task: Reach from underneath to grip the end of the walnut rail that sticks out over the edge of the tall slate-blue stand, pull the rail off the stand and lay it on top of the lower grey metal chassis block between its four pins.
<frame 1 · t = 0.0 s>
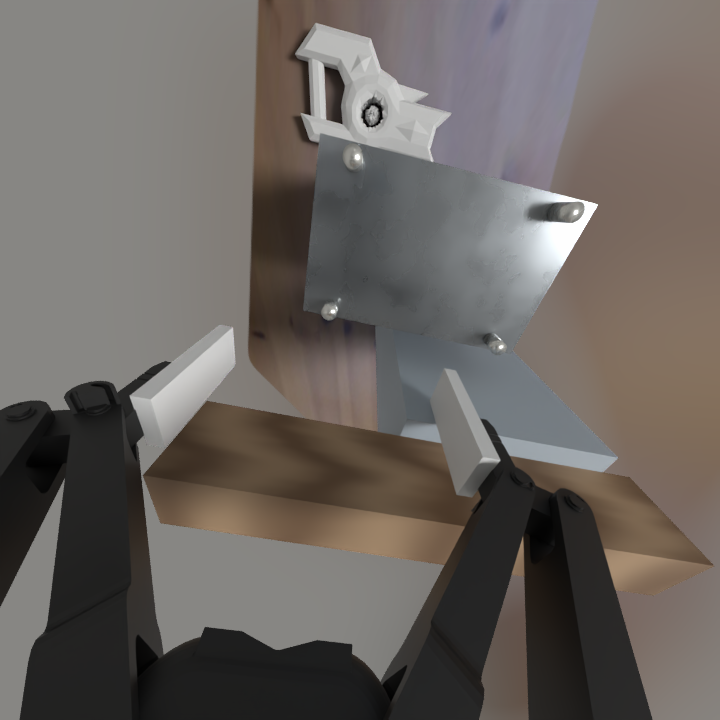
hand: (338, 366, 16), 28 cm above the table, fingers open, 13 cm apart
rail: (420, 461, 17), point 30 cm above the table, touching stand
chassis: (399, 233, 37), on the table
stand: (420, 316, 44), on the table
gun: (371, 112, 31), on the table
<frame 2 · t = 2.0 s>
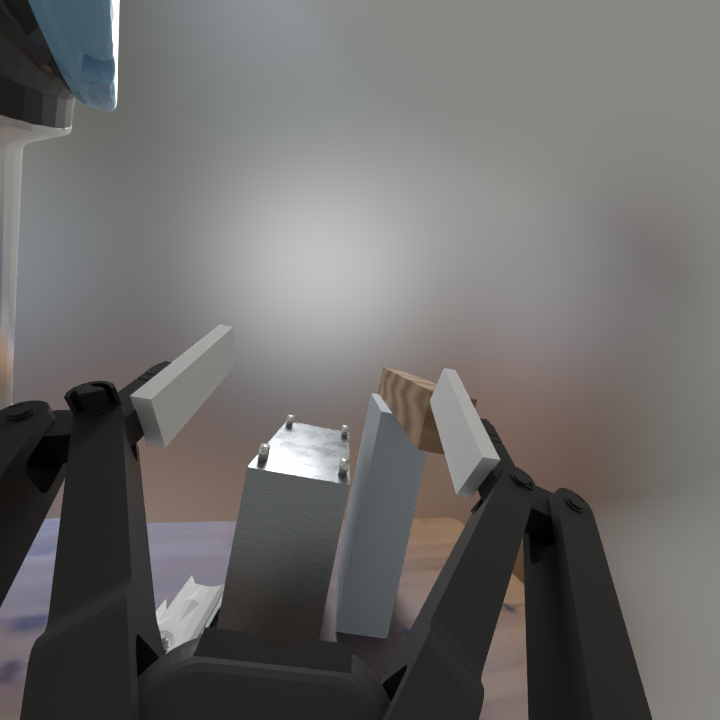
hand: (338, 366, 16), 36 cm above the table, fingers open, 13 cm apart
rail: (404, 412, 35), point 30 cm above the table, touching stand
chassis: (275, 623, 34), on the table
stand: (359, 587, 41), on the table
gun: (140, 679, 26), on the table
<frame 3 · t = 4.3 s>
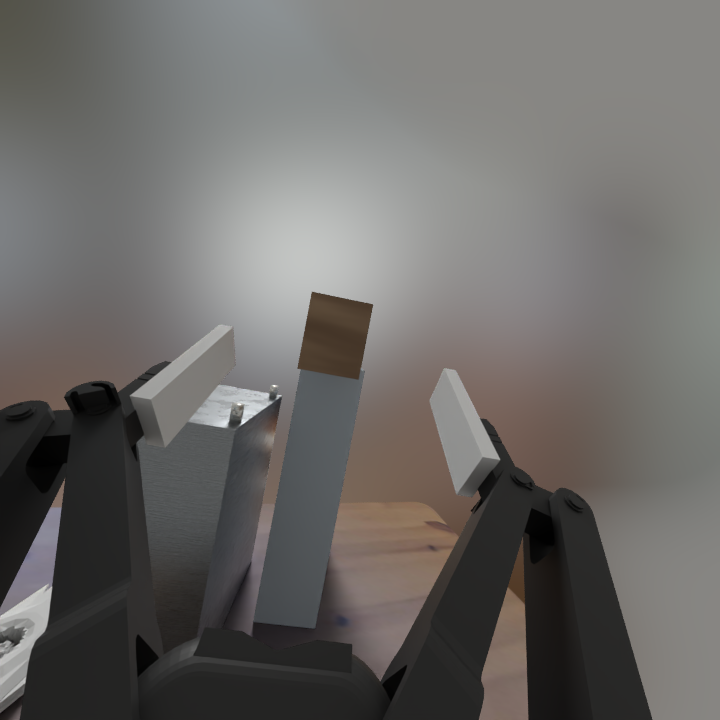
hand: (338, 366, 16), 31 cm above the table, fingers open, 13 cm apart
rail: (334, 364, 31), point 30 cm above the table, touching stand
chassis: (179, 613, 28), on the table
stand: (295, 572, 36), on the table
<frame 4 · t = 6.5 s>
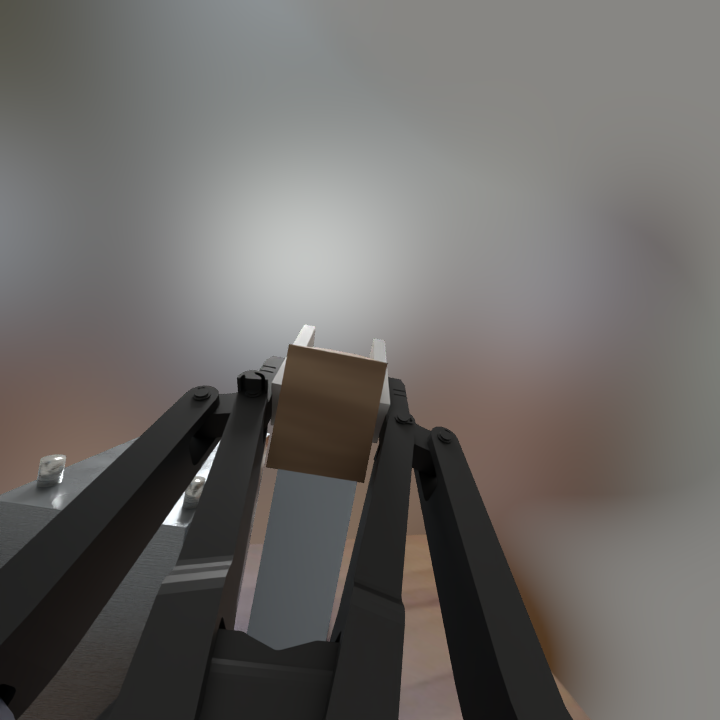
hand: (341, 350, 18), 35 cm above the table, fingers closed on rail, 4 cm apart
rail: (332, 404, 24), point 30 cm above the table, touching gripper, stand
stand: (285, 646, 30), on the table
when the fingers open (31 cm above the table, at t = 11.5 s): rail drops 1 cm, resting on chassis.
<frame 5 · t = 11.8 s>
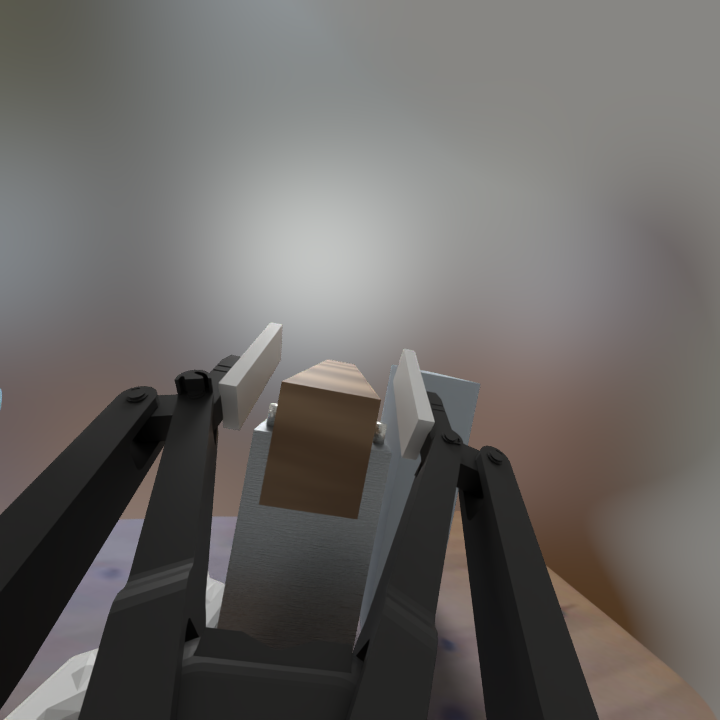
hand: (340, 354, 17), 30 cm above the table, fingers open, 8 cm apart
rail: (329, 419, 24), point 24 cm above the table, touching chassis
chassis: (287, 637, 27), on the table
stand: (383, 590, 35), on the table
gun: (132, 688, 22), on the table
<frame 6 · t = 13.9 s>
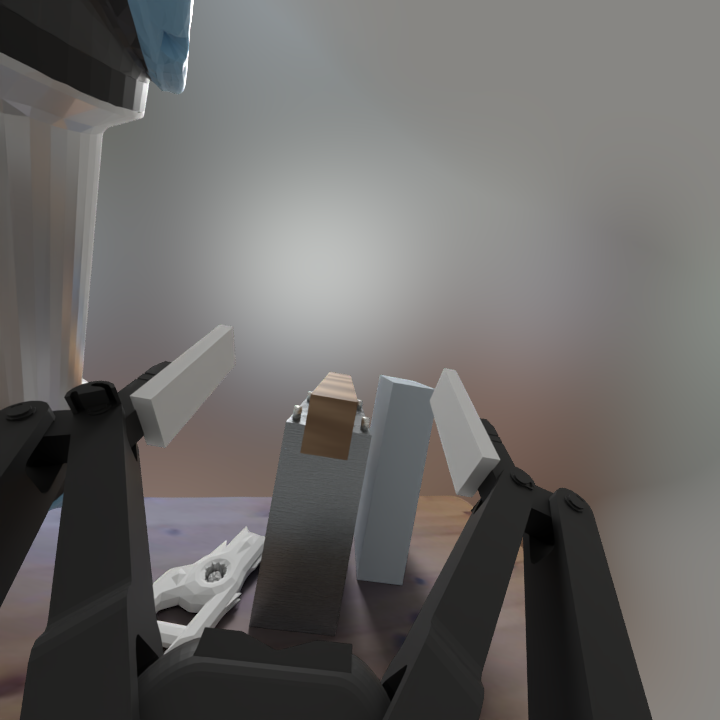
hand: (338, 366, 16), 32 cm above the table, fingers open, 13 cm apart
rail: (332, 416, 36), point 24 cm above the table, touching chassis
chassis: (303, 572, 38), on the table
stand: (374, 547, 46), on the table
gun: (205, 592, 33), on the table
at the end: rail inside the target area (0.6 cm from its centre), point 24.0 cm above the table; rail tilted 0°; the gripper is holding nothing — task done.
